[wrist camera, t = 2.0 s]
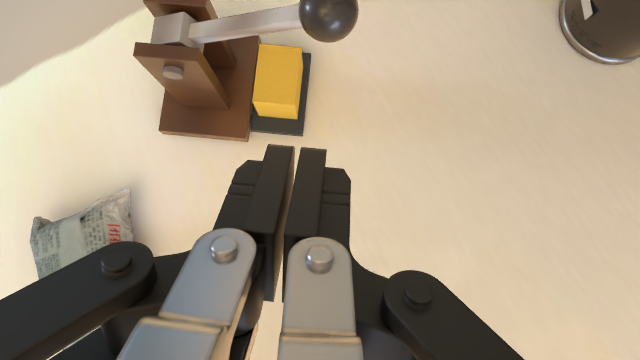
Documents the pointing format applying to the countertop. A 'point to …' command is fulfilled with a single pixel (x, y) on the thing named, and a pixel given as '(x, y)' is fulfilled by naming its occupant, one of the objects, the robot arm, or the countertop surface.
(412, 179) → the countertop surface
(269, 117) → the butter
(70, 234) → the packaged food
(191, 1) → the brown lever base bracket
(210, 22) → the ball-knob lever
